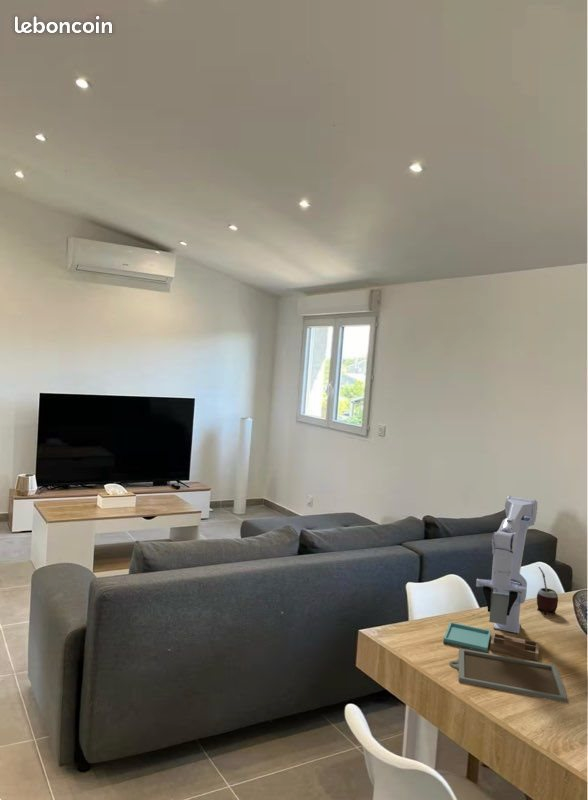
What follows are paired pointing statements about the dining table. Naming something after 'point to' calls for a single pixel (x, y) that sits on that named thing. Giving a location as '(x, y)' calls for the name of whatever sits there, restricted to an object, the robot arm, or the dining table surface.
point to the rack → (529, 652)
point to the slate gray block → (498, 608)
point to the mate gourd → (547, 599)
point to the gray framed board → (510, 674)
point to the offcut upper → (514, 642)
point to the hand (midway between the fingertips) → (498, 612)
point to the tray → (467, 637)
